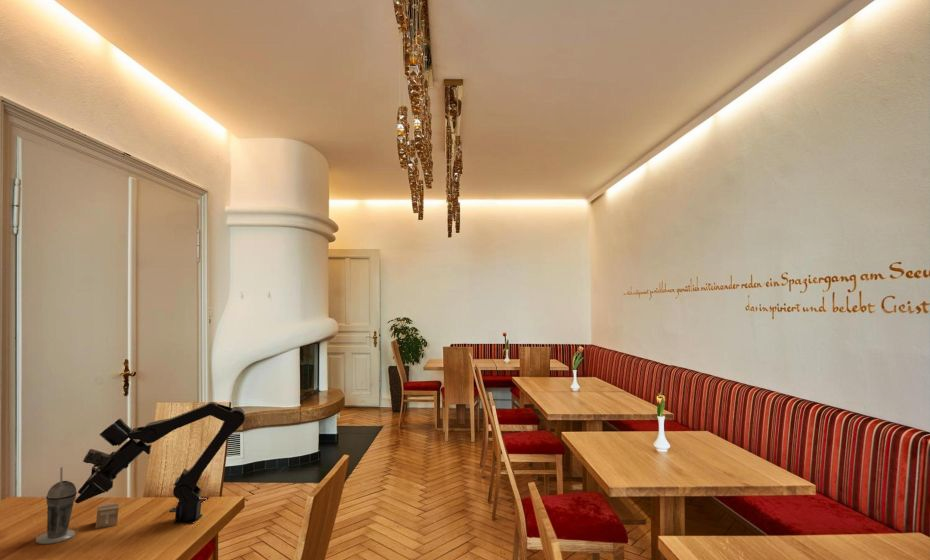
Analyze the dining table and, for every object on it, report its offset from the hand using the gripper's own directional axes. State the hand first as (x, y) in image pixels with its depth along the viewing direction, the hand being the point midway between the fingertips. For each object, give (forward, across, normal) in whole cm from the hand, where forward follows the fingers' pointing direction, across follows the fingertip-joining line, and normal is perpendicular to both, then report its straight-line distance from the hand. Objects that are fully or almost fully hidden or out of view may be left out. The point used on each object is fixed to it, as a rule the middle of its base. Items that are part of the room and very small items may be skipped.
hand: (77, 497), depth 151 cm
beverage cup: (+10, 0, +4) cm, 11 cm away
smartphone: (-14, -12, +31) cm, 36 cm away
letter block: (+2, -5, +13) cm, 15 cm away
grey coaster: (+11, 0, +5) cm, 12 cm away
